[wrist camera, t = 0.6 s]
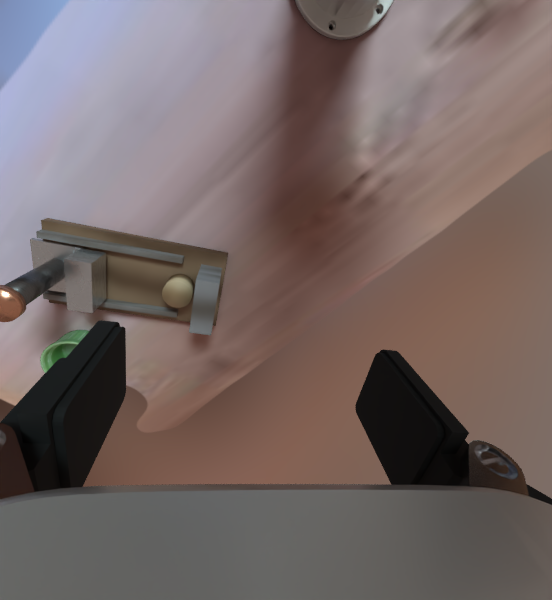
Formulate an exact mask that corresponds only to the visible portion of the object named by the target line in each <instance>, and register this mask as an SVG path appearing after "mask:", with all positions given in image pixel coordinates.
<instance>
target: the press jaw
mask: <svg viewBox="0 0 552 600" xmlns="http://www.w3.org/2000/svg"><path fill="white" fill-rule="evenodd" d="M30 243H31V251H32V260H33V268H34V269H33V270H31V271H29V272H27V273H26V274H24V275H22V276H20V277H18V278H17V279H15V280H13V281H11V282H9V283H7V284H6V285H0V322H10V321H13V320H15V319H16V318H18V317H19V316H20V315H22V314H23V313H24V312H25V310H26V305H27V304H28V303H30V302H31V301H33V300H34V299H36V298H37V297H38V296H40V295H41V294H43V293H44V292H46V291H47V290H51V291H58V292H64V293H66V299H67V310H72V311H80V312H87V313H93V312H94V311H95V310H96V309H97V308H98V307H99V306H100V305H101V304H102V303H103V302H104V301H105V300H106V253H104V252H98V251H93V250H87V249H84V247H79V246H74V245H68V244H63V243H57V242H52V241H46V240H40V239H35V238H32V239H30Z"/></svg>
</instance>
